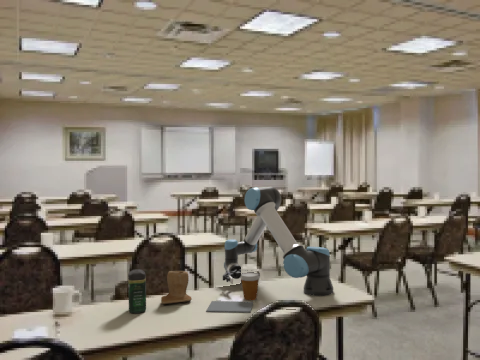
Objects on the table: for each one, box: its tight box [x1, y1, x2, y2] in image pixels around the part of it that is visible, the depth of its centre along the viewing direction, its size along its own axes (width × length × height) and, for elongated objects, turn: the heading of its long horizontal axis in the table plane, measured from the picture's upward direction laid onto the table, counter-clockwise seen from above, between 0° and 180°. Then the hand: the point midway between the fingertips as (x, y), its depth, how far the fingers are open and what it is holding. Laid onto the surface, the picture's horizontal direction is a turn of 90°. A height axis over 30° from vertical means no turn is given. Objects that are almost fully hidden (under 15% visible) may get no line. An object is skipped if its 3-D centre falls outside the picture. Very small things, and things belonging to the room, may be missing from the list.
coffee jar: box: [127, 268, 147, 314], centre depth 199 cm, size 10×8×19 cm
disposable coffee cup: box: [239, 272, 261, 301], centre depth 214 cm, size 10×10×12 cm
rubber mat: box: [205, 300, 254, 314], centre depth 201 cm, size 20×14×1 cm
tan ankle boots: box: [160, 270, 192, 305], centre depth 211 cm, size 15×12×15 cm
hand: (245, 280), depth 222 cm, fingers open, 13 cm apart
